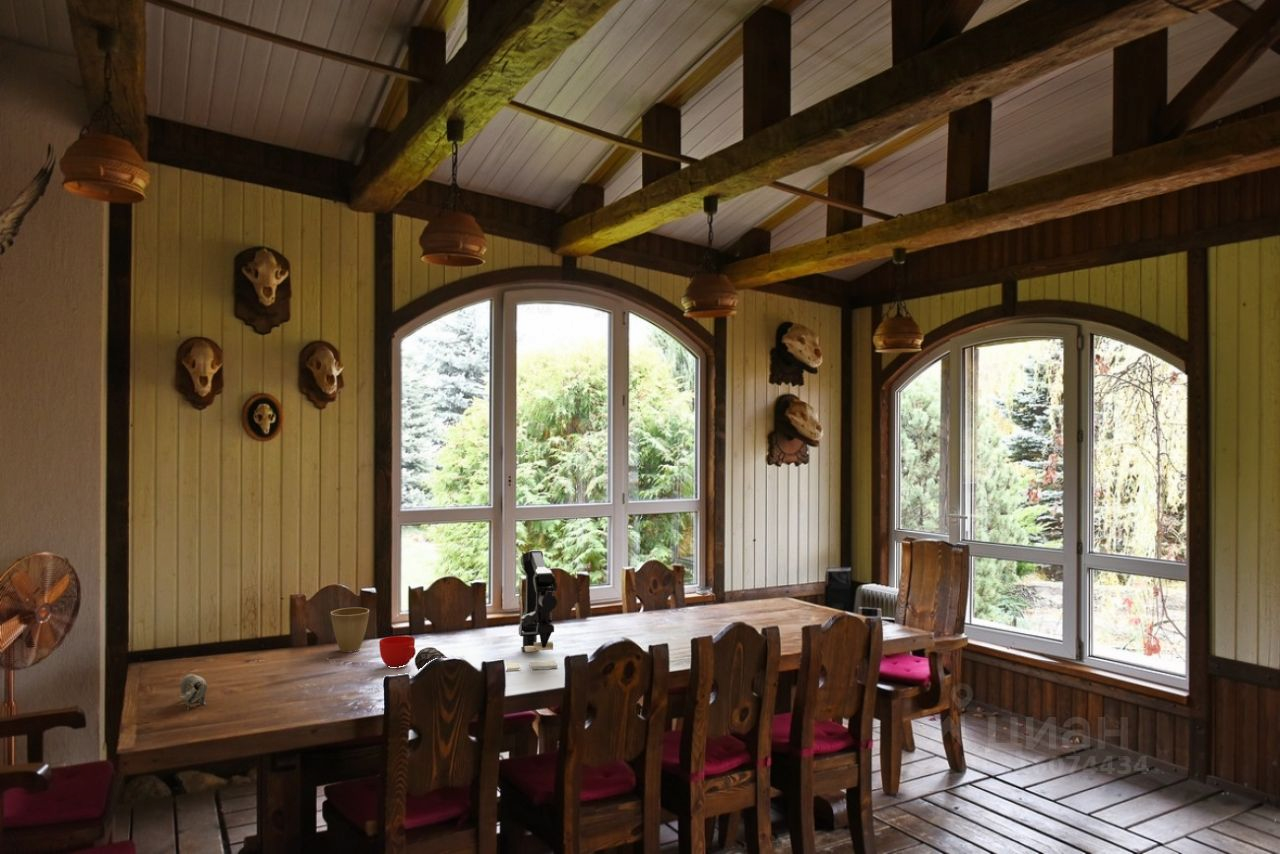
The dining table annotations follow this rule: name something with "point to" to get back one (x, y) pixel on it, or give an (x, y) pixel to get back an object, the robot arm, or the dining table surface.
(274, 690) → the dining table surface
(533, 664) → the rest
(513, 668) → the tile
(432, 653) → the pine cone
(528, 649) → the beige flat block
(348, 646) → the plant pot
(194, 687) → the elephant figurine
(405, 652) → the ceramic cup
